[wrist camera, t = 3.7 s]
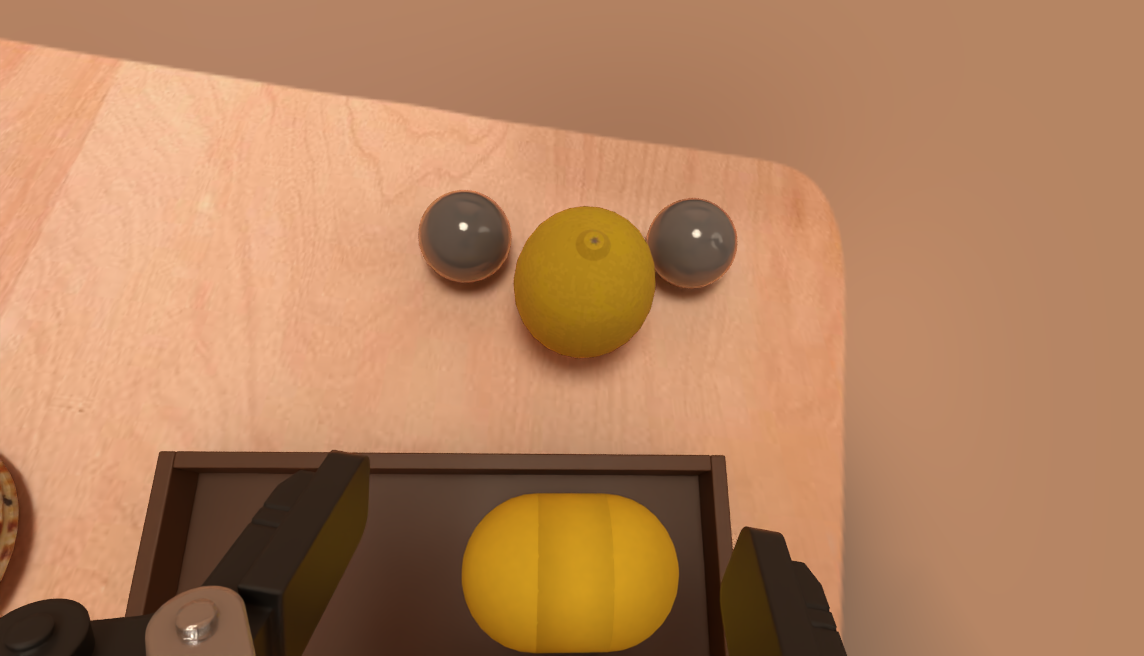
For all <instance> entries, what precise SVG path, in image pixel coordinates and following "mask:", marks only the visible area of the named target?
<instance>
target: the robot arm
mask: <svg viewBox="0 0 1144 656" xmlns="http://www.w3.org/2000/svg"><path fill="white" fill-rule="evenodd" d="M369 479H370V459H369V457H368V456H365V455H359V454H354V453H348V452H343V451H337V450H332V451H331V452H330V453H329V454H328V455H327V457H326V458H325V459H324V461H323V462H322V464H321V465H320V467H319V468H318V470H317V471H316V472H311V471H305V470H299V471H298V472H296V473H295V474H293V475H292V476H290V477H289V478H287V479H286V480H284V481H283V482H281V483H279V484H278V485H277V487H276V488H275V489H274V490H273V492H272V493H271V494H270V496H269V497H268V498H267V500H266V501H265V502H264V505H263V507H261V508H260V509H259V510H258V512H257V513H256V514H255V516H254V517H253V518H252V521H251V523H249V524H248V525H247V526H246V528H245V529H244V530H243V532H242V533H241V534H240V536H239V537H238V538H237V539H236V541H235V542H234V543H233V545H232V546H231V547H230V549H229V550H228V551H227V553H226V554H225V555H224V557H223V558H222V559H221V561H220V562H219V563H218V565H217V566H216V567H215V569H214V570H213V571H212V573H211V574H210V575H209V577H208V578H207V579H206V581H205V582H204V583H203V584H202V585H201V586H200V587H198V588H194V589H191V590H188V591H185V592H183V593H181V594H179V595H177V596H175V597H173V598H172V599H170V600H168V601H167V602H166V603H165V604H163V605H162V606H161V607H160V608H159V609H158V610H157V611H156V612H155V613H151V614H146V615H140V616H131V617H122V618H112V619H103V620H93V621H90V617H89V614H88V611H87V610H86V608H85V607H84V606H83V605H81V604H80V603H78V602H76V601H73V600H68V599H47V600H42V601H37V602H34V603H30V604H27V605H25V606H22V607H20V608H17V609H15V610H13V611H11V612H9V613H8V614H6V615H4V616H3V617H1V618H0V656H302V654H303V652H304V650H305V648H306V646H307V645H308V643H309V641H310V639H311V637H312V635H313V633H314V631H315V629H316V627H317V625H318V623H319V621H320V619H321V617H322V615H323V613H324V611H325V609H326V607H327V605H328V603H329V601H330V599H331V597H332V595H333V594H334V592H335V590H336V588H337V586H338V584H339V582H340V580H341V578H342V576H343V574H344V572H345V570H346V568H347V566H348V564H349V562H350V560H351V558H352V556H353V554H354V552H355V550H356V548H357V546H358V545H359V543H360V540H361V538H362V536H363V533H364V530H365V526H366V522H367V517H368V509H369ZM720 607H721V613H722V619H723V625H724V631H725V636H726V642H727V648H728V654H729V656H847V654H846V652H845V649H844V646H843V643H842V640H841V638H840V635H839V632H837V631H836V624H835V621H834V618H833V616H832V613H831V612H829V608H830V607H829V605H828V602H827V599H826V596H825V594H824V591H823V588H822V585H821V584H820V582H819V581H818V580H817V579H816V577H815V576H814V575H813V574H812V572H811V571H810V570H809V568H808V567H807V566H806V565H805V563H802V562H797V561H791V557H790V554H789V551H788V548H787V545H786V542H785V539H784V537H783V535H782V534H781V533H779V532H773V531H768V530H762V529H757V528H752V527H744V528H743V529H742V530H741V532H740V535H739V537H738V540H737V542H736V545H735V547H734V550H733V553H732V555H731V558H730V560H729V563H728V565H727V568H726V571H725V573H724V576H723V579H722V583H721V590H720Z"/></svg>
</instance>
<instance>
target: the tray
mask: <svg viewBox="0 0 1144 656" xmlns="http://www.w3.org/2000/svg"><path fill="white" fill-rule="evenodd" d="M329 453H330V452H193V451H178V452H175V451H161V452H160V453H159V456H158V461H157V466H156V470H155V475H154V480H153V485H152V490H151V494H150V499H149V504H148V509H147V513H146V518H145V523H144V528H143V532H142V537H141V542H140V547H139V552H138V556H137V561H136V566H135V571H134V575H133V580H132V585H131V590H130V594H129V599H128V604H127V609H126V614H125V617H131V616H140V615H146V614H151V613H155V612H156V611H157V610H158V609H159V608H160V607H161V606H162V605H163V604H165V603H166V602H167V601H168V600H170V599H172V598H173V597H175V596H177V595H179V594H181V593H183V592H185V591H188V590H191V589H194V588H198V587H200V586H201V585H202V584H203V583H204V582H205V581H206V579H207V578H208V577H209V575H210V574H211V573H212V571H213V570H214V569H215V567H216V566H217V565H218V563H219V562H220V561H221V559H222V558H223V557H224V555H225V554H226V553H227V551H228V550H229V549H230V547H231V546H232V545H233V543H234V542H235V541H236V539H237V538H238V537H239V536H240V534H241V533H242V532H243V530H244V529H245V528H246V526H247V525H248V524H249V523H251V521H252V518H253V517H254V516H255V514H256V513H257V512H258V510H259V509H260V508H261V507H263V505H264V502H265V501H266V500H267V498H268V497H269V496H270V494H271V493H272V492H273V490H274V489H275V488H276V487H277V485H278V484H279V483H281V482H283V481H284V480H286V479H287V478H289V477H290V476H292V475H293V474H295V473H296V472H298V471H299V470H305V471H311V472H316V471H317V470H318V468H319V467H320V465H321V464H322V462H323V461H324V459H325V458H326V457H327V455H328V454H329ZM354 454H359V455H365V456H368V457H369V459H370V479H369V509H368V517H367V522H366V526H365V530H364V533H363V536H362V538H361V540H360V543H359V545H358V546H357V548H356V550H355V552H354V554H353V556H352V558H351V560H350V562H349V564H348V566H347V568H346V570H345V572H344V574H343V576H342V578H341V580H340V582H339V584H338V586H337V588H336V590H335V592H334V594H333V595H332V597H331V599H330V601H329V603H328V605H327V607H326V609H325V611H324V613H323V615H322V617H321V619H320V621H319V623H318V625H317V627H316V629H315V631H314V633H313V635H312V637H311V639H310V641H309V643H308V645H307V646H306V648H305V650H304V652H303V654H302V656H729V654H728V648H727V642H726V636H725V631H724V625H723V619H722V613H721V607H720V590H721V583H722V579H723V576H724V573H725V571H726V568H727V565H728V563H729V560H730V558H731V555H732V553H733V548H732V536H731V523H730V511H729V498H728V486H727V473H726V461H725V456H723V455H711V456H710V455H610V454H471V453H354ZM536 493H604V494H613V495H619V496H622V497H625V498H629V499H632V500H634V501H636V502H637V503H639V504H641V505H643V506H645V507H646V508H647V509H648V510H649V511H650V512H652V513H653V514H654V515H655V516H656V517H657V518H658V520H659V521H660V522H661V523H662V525H663V526H664V527H665V529H666V530H667V532H668V534H669V536H670V538H671V540H672V542H673V544H674V547H675V551H676V555H677V560H678V566H679V580H678V589H677V595H676V598H675V600H674V603H673V606H672V608H671V611H670V613H669V614H668V616H667V617H666V619H665V621H664V622H663V624H662V625H661V626H660V627H659V628H658V629H657V630H656V631H655V632H654V633H653V634H652V635H651V636H650V637H649V638H647V639H646V640H644V641H643V642H641V643H639V644H638V645H636V646H633V647H630V648H628V649H625V650H621V651H613V652H589V653H528V652H519V651H516V650H513V649H510V648H507V647H505V646H503V645H501V644H500V643H498V642H496V641H495V640H493V639H492V638H491V637H490V636H488V635H487V634H486V633H485V632H484V631H483V630H482V629H481V628H480V626H479V625H478V624H477V622H476V621H475V619H474V618H473V616H472V615H471V612H470V610H469V608H468V605H467V603H466V601H465V597H464V592H463V587H462V563H463V556H464V553H465V550H466V547H467V544H468V541H469V539H470V537H471V535H472V533H473V532H474V530H475V528H476V527H477V525H478V524H479V523H480V522H481V521H482V519H483V518H484V517H485V516H486V515H487V514H488V513H489V512H490V511H492V510H493V509H494V508H495V507H497V506H498V505H500V504H502V503H503V502H505V501H507V500H509V499H511V498H515V497H518V496H521V495H526V494H536Z"/></svg>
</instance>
